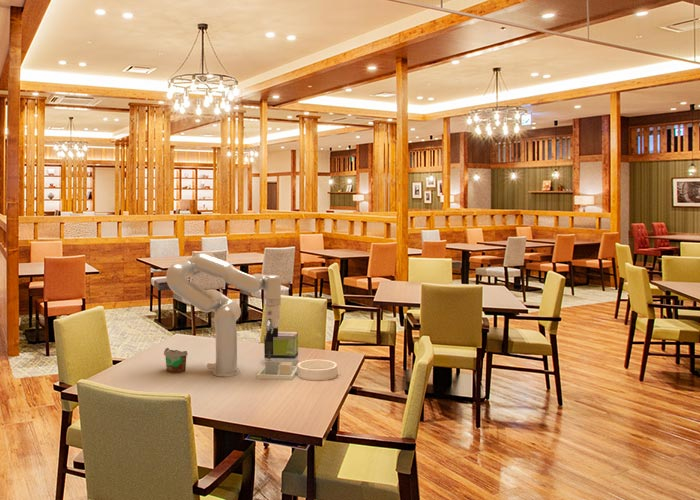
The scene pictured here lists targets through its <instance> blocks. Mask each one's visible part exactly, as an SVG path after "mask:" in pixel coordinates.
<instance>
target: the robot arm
mask: <svg viewBox="0 0 700 500" xmlns="http://www.w3.org/2000/svg"><path fill="white" fill-rule="evenodd" d="M202 273H203V274H206V275H208V276H211V277H213V278H216V279H219V280H220V281H221V280H222V281H223V282H224V283H227V284H228V285H231V286H232V287H235V288H236V289H239V290H242V291H244V292H248V293H250V294H251V293H253V294H254V293H257V292H259V291H261V290H263V306H264V307H265V315H264V316H265V317H264V318H265V322H264V323H265V324H264V325H265V328H266V329H265V330H266V331H265V335H266V342H273V337H278V332H279V326H280V324H281V315H280V314H281V313H280V312H281V309H280V306H281V304H282V303H281V302H282V301H281V300H282V298H281V294H282V293H281V292H282V291H281V289H282V288H281V287H282V286H281V283H282V282H281V281H282V279H281V276H280V275H278V274H262V273H253V274H248V273H246V272H243V271H241V270H240V269H238V268H236V267H235V266H234V265H233V263H231V262H230V261H226V260H224V259H221V258H218V257H216V256H215V255H214V253H212V251H211V252H210V251H202V252H199V253H196V255H195V256H192V257H188V258H186V259H184V260H181V261H177V262H174V263H172V264H171V265H170V266H169V267H168V268H167V270H166V274H165V279H166V283H167V286H168V288H169V289H170V290H171V291H172V292H173V293H174V294H175V295H177V296H178V297H180V298H181V299H183V300H185V301H186V302H187V303H188V304H190V305H192V306H194V307H195V308H196V309H197V310H199V311H200V312H203V313H210V312H212V313H214V316H213V320H214V331H215V333H214V334H215V362H214V363H211V362H210V363H207V365H206V368H207V369H211V370H212V375H213V376H215V377H220V378H224V377H225V378H226V377H234V376H238V375H240V374H241V368H238V337H237V336H238V333H237V321H238V319H239V318H240V317H241V315H242V311H241V310H242V309H241V307H240V305H239V304H238V303H237V302H236V301H234V300H232V299H231V298H230V297H228V296H227V295H225V294H224V293H222V292H220V291H218V290H216V289H212V288H211V289H207V290H206V289H204V288H202V287H200V286H199V285H198V284H196V283H194V282H191V281H190V280H189V279H190V278H192V277H194V276H197V275H199V274H202Z"/></svg>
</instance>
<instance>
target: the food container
mask: <svg viewBox="0 0 700 500" xmlns="http://www.w3.org/2000/svg"><path fill="white" fill-rule="evenodd" d="M163 355H164V356H165V357H164V358H165V367H166V372H167V373H170V374H180V373H185V372H186V368H187V367H186V366H187V357H188V351H187V350H183V351H182V350H177V349H174V350H173V349H170V348H169V347H167V348H165V349H164V351H163Z"/></svg>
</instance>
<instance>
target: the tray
mask: <svg viewBox="0 0 700 500" xmlns="http://www.w3.org/2000/svg"><path fill="white" fill-rule="evenodd" d="M296 376H297V365H296V366H293V373H292V374H291V376H290V375H279V373H278V374H277V375H266V374H265V365H264V366H263V367H262V368H261V369H260V371H259V372H258V373H257V374H256V379H257V380H280V381H293V380H294V378H295V377H296Z"/></svg>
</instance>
